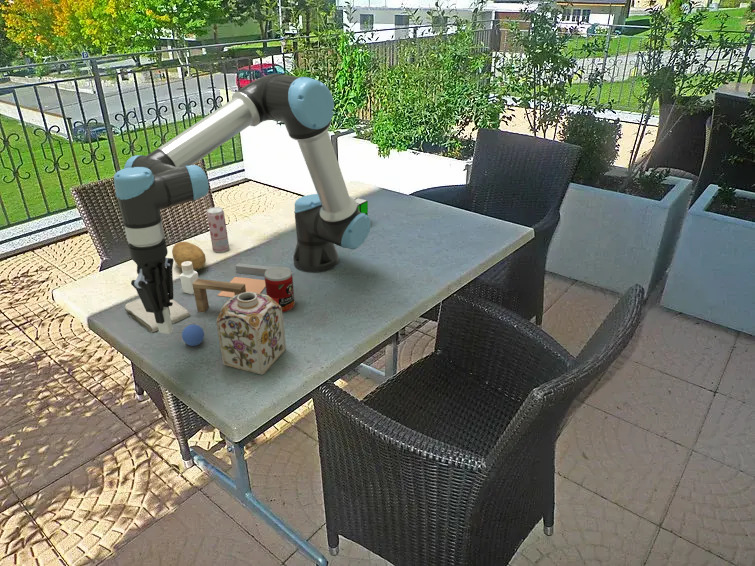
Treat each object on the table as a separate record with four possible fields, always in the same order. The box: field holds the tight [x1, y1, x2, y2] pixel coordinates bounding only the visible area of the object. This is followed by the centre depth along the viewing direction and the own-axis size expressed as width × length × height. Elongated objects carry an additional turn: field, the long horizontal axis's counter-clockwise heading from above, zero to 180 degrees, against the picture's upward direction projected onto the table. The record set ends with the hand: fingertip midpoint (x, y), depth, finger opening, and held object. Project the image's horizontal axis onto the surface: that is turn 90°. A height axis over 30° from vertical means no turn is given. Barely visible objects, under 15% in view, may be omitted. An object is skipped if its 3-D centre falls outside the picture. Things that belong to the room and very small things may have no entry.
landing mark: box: [217, 276, 266, 298], centre depth 167 cm, size 12×12×1 cm
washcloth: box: [124, 298, 191, 333], centre depth 154 cm, size 12×18×3 cm, turn 48°
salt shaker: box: [179, 261, 200, 295], centre depth 163 cm, size 4×4×10 cm
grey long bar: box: [234, 262, 273, 277], centre depth 175 cm, size 14×2×2 cm, turn 77°
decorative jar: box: [215, 292, 287, 376], centre depth 132 cm, size 12×12×18 cm
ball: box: [181, 324, 205, 347], centre depth 140 cm, size 6×6×6 cm
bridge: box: [192, 278, 246, 313], centre depth 153 cm, size 3×14×9 cm, turn 77°
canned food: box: [264, 266, 296, 313], centre depth 155 cm, size 8×8×11 cm
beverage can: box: [206, 206, 230, 254], centre depth 188 cm, size 6×6×15 cm
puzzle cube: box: [349, 195, 369, 217], centre depth 208 cm, size 10×10×10 cm
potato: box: [171, 241, 207, 271], centre depth 177 cm, size 10×14×8 cm
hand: (166, 331), depth 128 cm, fingers closed
